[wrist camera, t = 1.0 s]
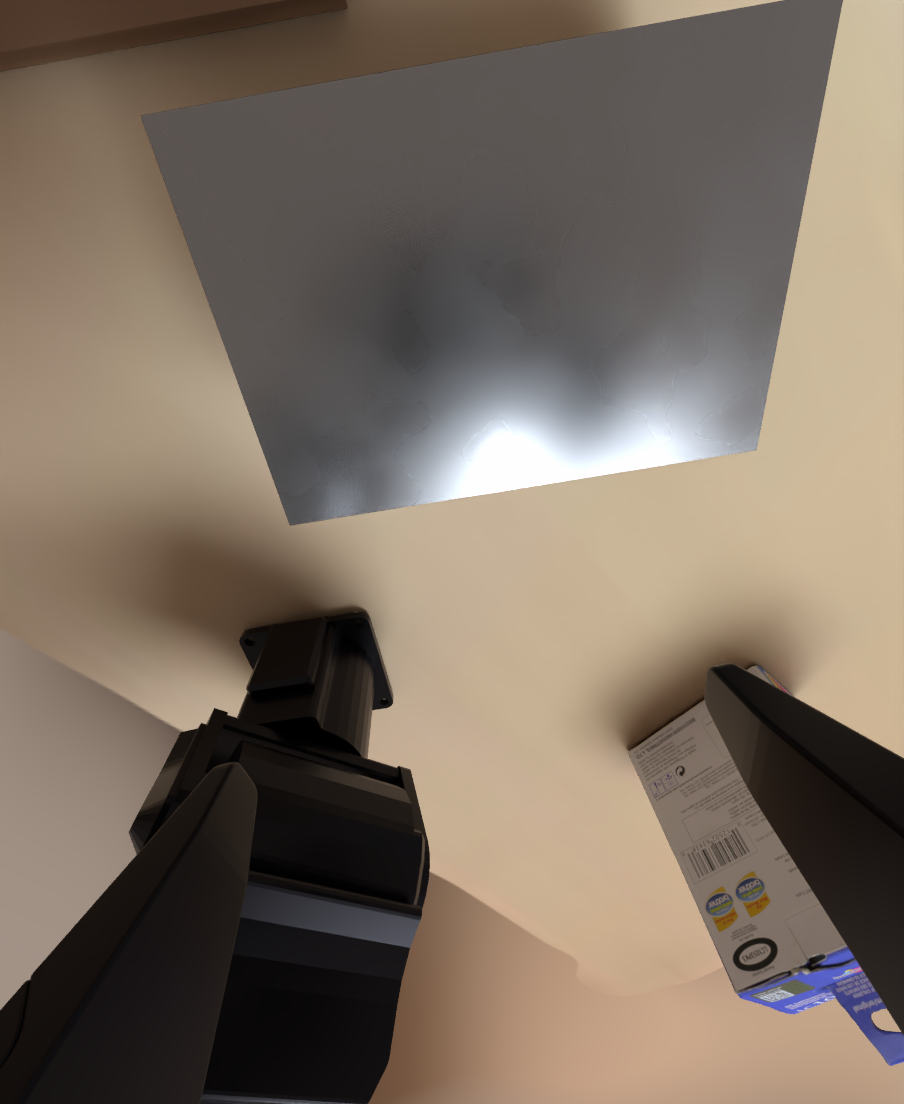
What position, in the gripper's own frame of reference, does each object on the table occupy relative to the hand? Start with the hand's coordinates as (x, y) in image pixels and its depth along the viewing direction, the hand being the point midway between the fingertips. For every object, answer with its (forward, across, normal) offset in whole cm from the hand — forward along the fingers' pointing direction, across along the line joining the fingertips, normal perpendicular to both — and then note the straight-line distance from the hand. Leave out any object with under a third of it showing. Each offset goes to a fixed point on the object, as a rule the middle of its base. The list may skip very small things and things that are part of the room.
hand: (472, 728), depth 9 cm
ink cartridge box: (+13, -13, +20) cm, 28 cm away
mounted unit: (+13, -3, -6) cm, 15 cm away
